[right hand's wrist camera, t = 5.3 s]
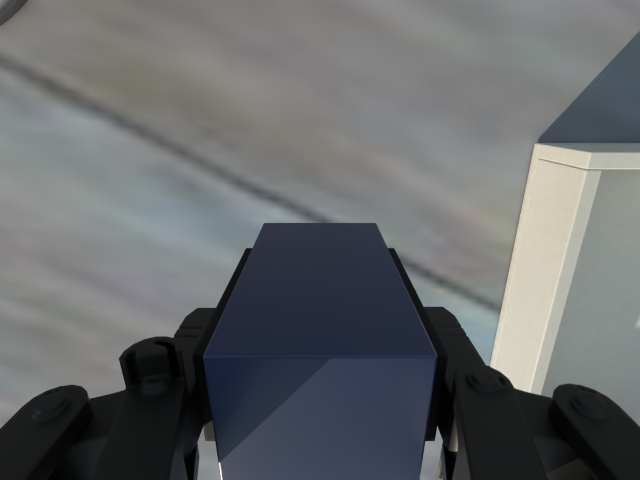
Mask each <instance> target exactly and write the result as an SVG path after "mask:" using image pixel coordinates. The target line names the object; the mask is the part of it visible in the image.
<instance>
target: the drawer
mask: <svg viewBox="0 0 640 480" xmlns="http://www.w3.org/2000/svg"><path fill="white" fill-rule="evenodd" d="M490 367H492V368H494V369H496V370H498V371H500V372H501V373H502V374H504V375H505V376H506V377H507V378H508V379H509V380H510V381H511V383H512V385H513V386H514V388H516V389H519V390H522V391H525V392H529V393H534V394H538V395H542V396H547V397H551V398H552V395H553V391H554V389H555V388H557V387H558V386H559V385H563V384H568V383H569V384H577V385H582V386H585V387H589V388H591V389H594V390H596V391H598V392H600V393H602V394H604V395H606V396H607V397H609V398H610V399H611V400H612V401H614V402H615V403H616V404H618V405H619V406H620V407H621V408H622V409H623V410H624V411H625V412H626V413H627V414H628V415H629V416H630V417H631V418H632V419H633V420H634V421H635V422H636V423H637V424H638V425H639V426H640V143H535V146H534V151H533V155H532V160H531V165H530V170H529V175H528V180H527V185H526V190H525V195H524V200H523V205H522V210H521V215H520V220H519V225H518V229H517V234H516V239H515V244H514V249H513V254H512V259H511V264H510V269H509V274H508V279H507V284H506V289H505V294H504V299H503V303H502V308H501V313H500V318H499V323H498V328H497V333H496V338H495V343H494V348H493V353H492V358H491V363H490Z"/></svg>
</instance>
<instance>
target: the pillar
mask: <svg viewBox="0 0 640 480" xmlns="http://www.w3.org/2000/svg"><path fill="white" fill-rule="evenodd" d="M437 357H438V356H437V354H436V351H435V349H434V347H433V345H432V343H431V341H430V338H429V336H428V334H427V332H426V330H425V328H424V326H423V323H422V321H421V319H420V317H419V315H418V313H417V311H416V308H415V306H414V304H413V302H412V300H411V298H410V295H409V293H408V291H407V289H406V287H405V285H404V283H403V280H402V278H401V276H400V274H399V272H398V270H397V267H396V265H395V263H394V261H393V259H392V257H391V255H390V252H389V250H388V248H387V246H386V244H385V242H384V240H383V237H382V235H381V233H380V231H379V229H378V227H377V224H376V223H264V224H263V227H262V229H261V231H260V233H259V235H258V238H257V240H256V242H255V244H254V246H253V248H252V251H251V253H250V255H249V257H248V259H247V262H246V264H245V266H244V268H243V270H242V272H241V275H240V277H239V279H238V281H237V283H236V286H235V288H234V290H233V292H232V294H231V296H230V299H229V301H228V303H227V305H226V307H225V309H224V312H223V314H222V316H221V318H220V320H219V323H218V325H217V327H216V329H215V331H214V333H213V336H212V338H211V340H210V342H209V344H208V347H207V349H206V351H205V353H204V355H203V359H204V366H205V373H206V380H207V387H208V394H209V401H210V407H211V414H212V421H213V428H214V435H215V442H216V449H217V455H218V462H219V469H220V476H221V480H420V473H421V466H422V459H423V453H424V446H425V439H426V432H427V425H428V419H429V412H430V405H431V398H432V391H433V385H434V378H435V371H436V364H437Z"/></svg>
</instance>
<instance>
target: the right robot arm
mask: <svg viewBox="0 0 640 480" xmlns="http://www.w3.org/2000/svg"><path fill="white" fill-rule="evenodd" d="M26 2H27V0H0V25H2V24H3V23H5V22H6V21H8V20H9V19H10V18H11V17H12V16H13V15H15V14H16V13H17V12H18V11H19V10H20V9H21V7H22V6H23V5H24V4H25V3H26ZM388 250H389V252H390V255H391V257H392V259H393V261H394V263H395V265H396V267H397V270H398V272H399V274H400V276H401V278H402V280H403V283H404V285H405V287H406V289H407V291H408V293H409V295H410V298H411V300H412V302H413V304H414V306H415V308H416V311H417V313H418V315H419V317H420V319H421V321H422V323H423V326H424V328H425V330H426V332H427V334H428V336H429V338H430V341H431V343H432V345H433V347H434V349H435V351H436V354H437V356H438V357H437V364H436V371H435V378H434V385H433V391H432V398H431V405H430V412H429V419H428V425H427V432H426V439H425V441H435V436H436V430H437V426H438V428H439V431H440V434H441V437H442V439H443V444H442V450H441V456H440V462H439V468H438V474H437V478H442V475H443V480H640V426H639V425H638V424H637V423H636V422H635V421H634V420H633V419H632V418H631V417H630V416H629V415H628V414H627V413H626V412H625V411H624V410H623V409H622V408H621V407H620V406H619V405H618V404H616V403H615V402H614V401H612V400H611V399H610V398H609V397H607V396H606V395H604V394H602V393H600V392H598V391H596V390H594V389H591V388H589V387H585V386H582V385H577V384H569V383H568V384H563V385H559V386H558V387H557V388H555V389H554V391H553V395H552V398H551V397H547V396H542V395H538V394H534V393H529V392H525V391H522V390H519V389H516V388H514V386H513V385H512V383H511V381H510V380H509V379H508V378H507V377H506V376H505V375H504V374H502V373H501V372H500V371H498V370H496V369H494V368H492V367H490V366H486V365H485V363H484V362H483V360H482V358H481V357H480V355H479V354H478V352H477V350H476V349H475V347H474V346H473V344H472V343H471V341H470V339H469V338H468V336H466V333H465V331H464V330H463V328H461V325H460V323H459V322H458V320H457V319H456V317H455V316H454V315H453V314H452V313H450V312H449V311H448V310H446V309H445V308H444V307H423V305H422V303H421V301H420V299H419V297H418V295H417V293H416V291H415V289H414V287H413V285H412V283H411V281H410V279H409V277H408V275H407V273H406V271H405V269H404V267H403V265H402V263H401V261H400V259H399V257H398V255H397V253H396V251H395V249H394V248H388ZM251 251H252V248H246V250H245V252H244V254H243V256H242V258H241V260H240V262H239V264H238V266H237V268H236V270H235V272H234V274H233V276H232V278H231V280H230V282H229V284H228V286H227V287H226V289H225V291H224V293H223V295H222V297H221V299H220V301H219V303H218V305H217V307H216V308H197V309H196V310H194V311H193V312H192V313H190V314H189V315H188V316H186V317H185V319H184V320H183V322H182V324H181V325H180V327H179V329H178V330H177V332H176V333H175V335H174V338H170V337H153V338H148V339H144V340H142V341H140V342H138V343H135V344H133V345H132V346H130V347H129V348H128V349H126V350H125V351H124V352H123V354H122V355H121V356H120V358H119V361H120V365H121V369H122V373H123V377H124V381H125V385H126V389H125V390H123V391H120V392H117V393H113V394H109V395H104V396H100V397H96V398H91V399H89V397H88V394H87V391H86V390H85V389H84V388H83V387H81V386H76V385H67V386H60V387H57V388H54V389H51V390H48V391H45V392H44V393H42V394H40V395H38V396H36V397H34V398H33V399H31V400H30V401H29V402H28V403H27V404H25V405H24V406H23V407H22V408H21V409H20V410H19V411H18V412H17V413H16V414H15V415H14V416H13V417H12V418H11V419H10V420H9V421H8V422H7V423H6V424H5V425H4V426H3V427H2V428H1V429H0V480H197V476H198V465H199V450H198V444H197V442H198V439H199V436H200V433H201V431H202V428H204V434H205V441H215V435H214V428H213V421H212V414H211V407H210V401H209V394H208V387H207V380H206V373H205V366H204V359H203V355H204V353H205V351H206V349H207V347H208V344H209V342H210V340H211V338H212V336H213V333H214V331H215V329H216V327H217V325H218V323H219V320H220V318H221V316H222V314H223V312H224V309H225V307H226V305H227V303H228V301H229V299H230V296H231V294H232V292H233V290H234V288H235V286H236V283H237V281H238V279H239V277H240V275H241V272H242V270H243V268H244V266H245V264H246V262H247V259H248V257H249V255H250V253H251Z"/></svg>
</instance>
